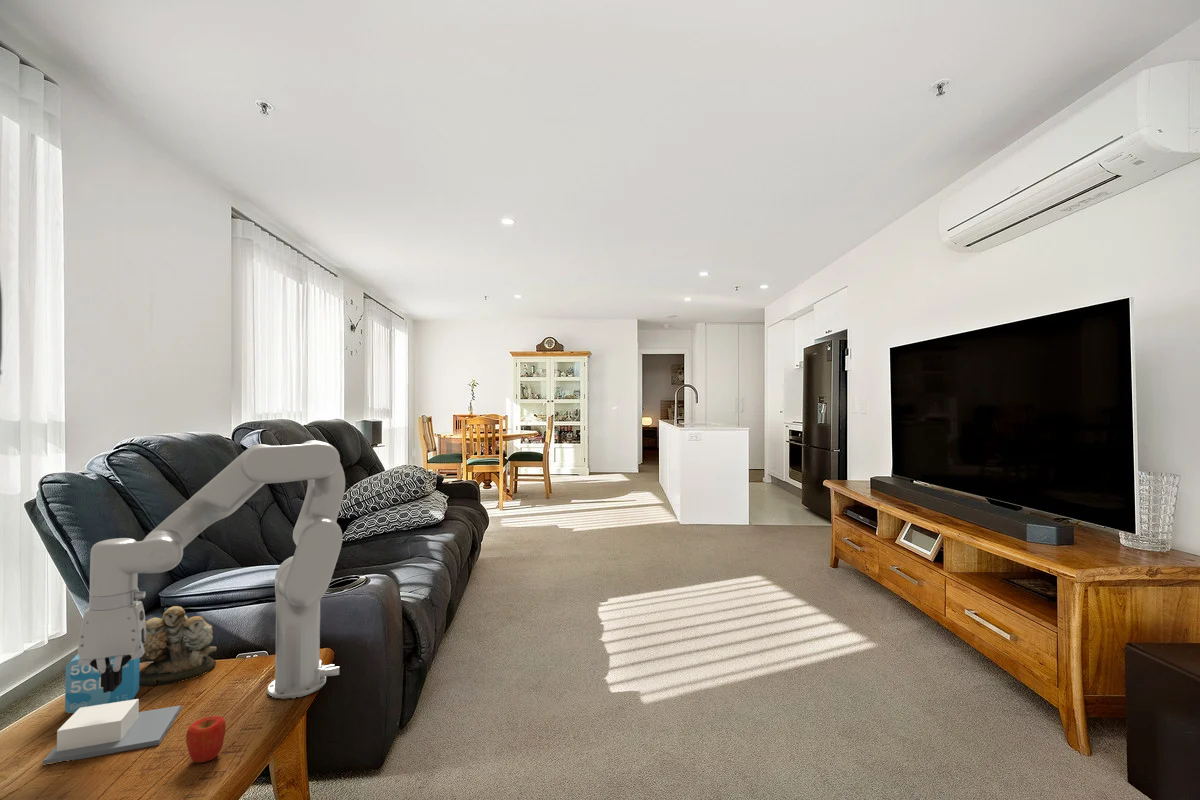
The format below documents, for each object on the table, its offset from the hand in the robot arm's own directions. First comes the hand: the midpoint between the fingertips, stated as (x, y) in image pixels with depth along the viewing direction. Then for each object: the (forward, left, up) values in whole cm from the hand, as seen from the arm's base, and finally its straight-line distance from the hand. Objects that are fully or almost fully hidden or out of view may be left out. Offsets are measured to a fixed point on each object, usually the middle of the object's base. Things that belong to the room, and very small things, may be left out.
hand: (111, 689), depth 115 cm
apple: (-20, +16, -10) cm, 28 cm away
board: (-1, 0, -10) cm, 10 cm away
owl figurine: (-3, -28, -10) cm, 30 cm away
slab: (-3, 0, -7) cm, 8 cm away
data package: (+7, -16, -10) cm, 20 cm away
